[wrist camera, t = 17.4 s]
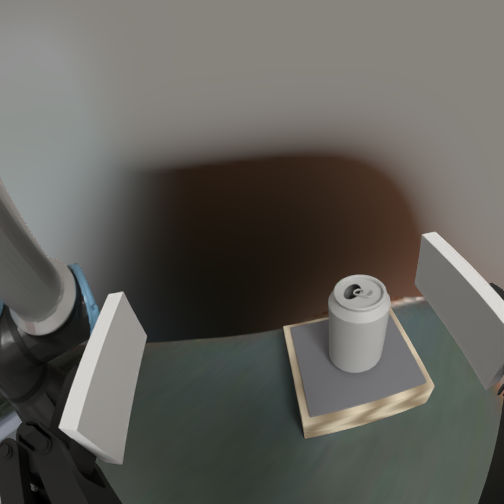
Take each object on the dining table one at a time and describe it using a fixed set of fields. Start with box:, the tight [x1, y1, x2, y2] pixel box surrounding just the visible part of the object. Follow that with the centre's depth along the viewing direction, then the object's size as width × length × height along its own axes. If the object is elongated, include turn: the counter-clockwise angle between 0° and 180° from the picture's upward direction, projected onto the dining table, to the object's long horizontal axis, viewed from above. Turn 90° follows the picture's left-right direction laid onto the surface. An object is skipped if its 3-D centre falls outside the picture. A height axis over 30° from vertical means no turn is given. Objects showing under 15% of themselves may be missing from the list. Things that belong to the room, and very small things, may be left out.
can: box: [329, 275, 390, 373], centre depth 35 cm, size 8×8×12 cm
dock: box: [283, 307, 434, 439], centre depth 40 cm, size 18×18×5 cm
